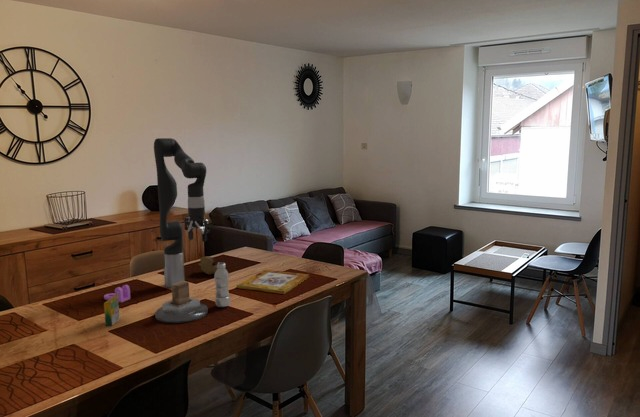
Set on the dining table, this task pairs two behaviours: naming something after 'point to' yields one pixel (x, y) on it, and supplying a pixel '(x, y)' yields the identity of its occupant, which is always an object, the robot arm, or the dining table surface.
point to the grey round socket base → (181, 311)
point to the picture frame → (273, 281)
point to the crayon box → (111, 311)
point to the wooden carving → (208, 265)
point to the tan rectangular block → (180, 293)
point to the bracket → (120, 293)
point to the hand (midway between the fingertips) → (197, 240)
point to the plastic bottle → (222, 286)
